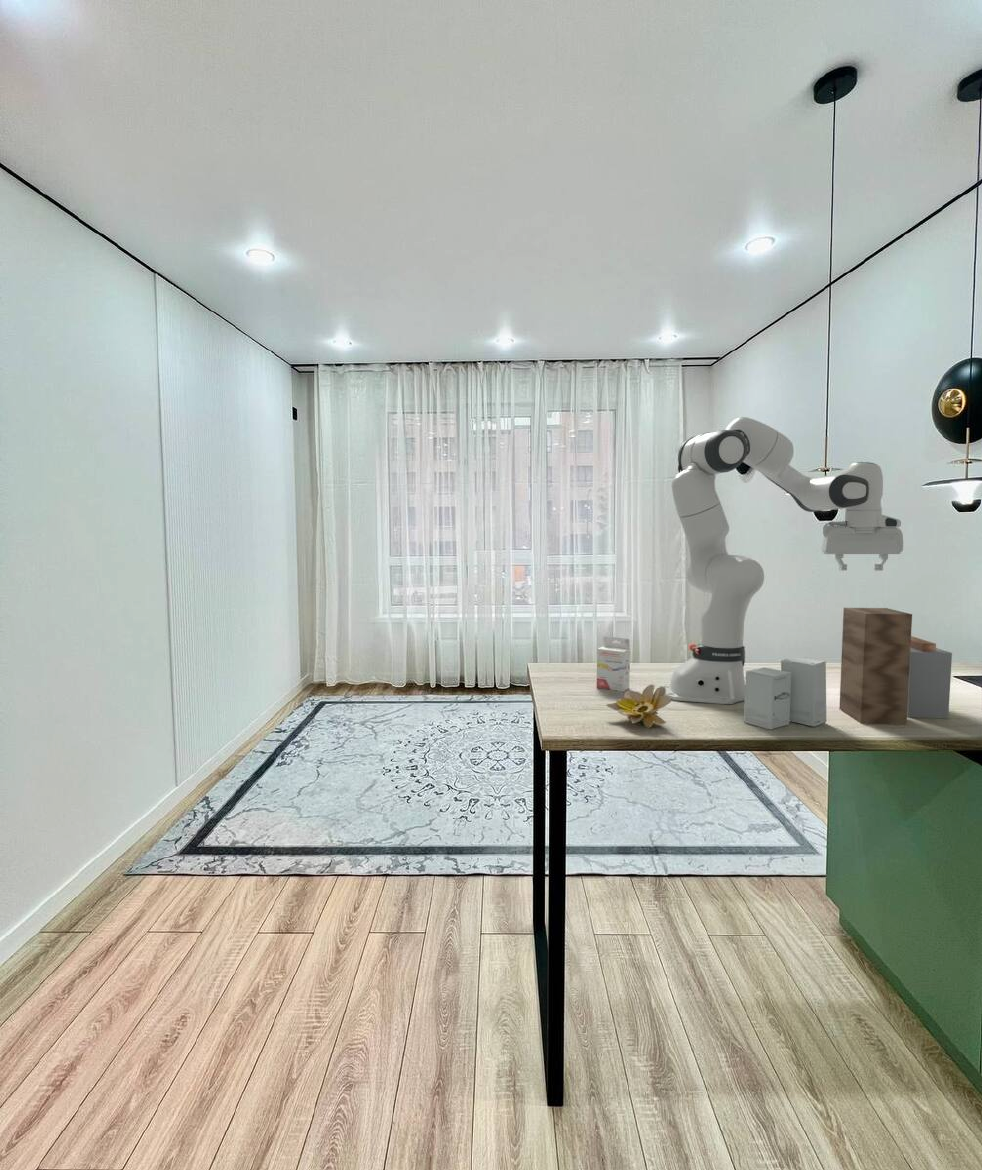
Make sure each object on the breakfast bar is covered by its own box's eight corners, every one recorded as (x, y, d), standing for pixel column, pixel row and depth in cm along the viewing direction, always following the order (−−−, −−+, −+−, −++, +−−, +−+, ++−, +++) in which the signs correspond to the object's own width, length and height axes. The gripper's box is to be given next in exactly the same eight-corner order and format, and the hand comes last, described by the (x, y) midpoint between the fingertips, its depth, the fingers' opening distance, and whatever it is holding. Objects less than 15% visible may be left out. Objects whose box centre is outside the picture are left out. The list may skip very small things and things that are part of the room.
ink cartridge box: (595, 688, 181) (596, 638, 180) (602, 684, 186) (602, 635, 184) (623, 692, 177) (624, 640, 176) (630, 688, 181) (630, 638, 180)
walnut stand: (860, 723, 147) (865, 613, 145) (839, 708, 159) (843, 607, 157) (906, 724, 145) (912, 614, 143) (881, 710, 157) (886, 608, 155)
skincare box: (826, 723, 147) (829, 661, 145) (812, 728, 143) (815, 664, 142) (792, 715, 154) (794, 655, 152) (778, 719, 150) (780, 658, 149)
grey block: (908, 717, 151) (911, 652, 150) (877, 700, 167) (880, 641, 165) (948, 718, 150) (952, 652, 149) (913, 701, 166) (916, 641, 164)
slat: (922, 651, 151) (922, 643, 151) (882, 637, 170) (882, 630, 170) (935, 651, 150) (936, 643, 150) (894, 638, 170) (894, 630, 170)
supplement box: (771, 730, 142) (773, 676, 141) (742, 722, 148) (744, 670, 147) (790, 725, 146) (792, 672, 145) (762, 717, 152) (763, 666, 151)
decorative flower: (596, 707, 155) (607, 669, 154) (636, 714, 158) (646, 676, 157) (625, 729, 141) (637, 687, 140) (668, 736, 144) (679, 695, 143)
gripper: (828, 521, 173) (826, 571, 174) (907, 520, 170) (905, 571, 171) (819, 521, 179) (817, 569, 180) (895, 521, 176) (893, 569, 178)
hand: (860, 570), depth 176 cm, fingers open, 8 cm apart
